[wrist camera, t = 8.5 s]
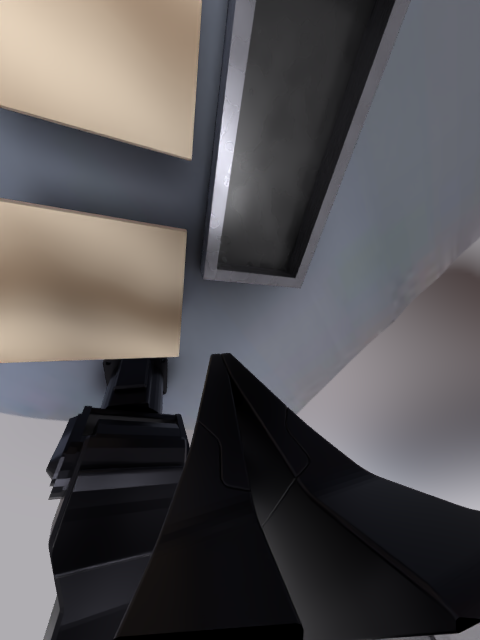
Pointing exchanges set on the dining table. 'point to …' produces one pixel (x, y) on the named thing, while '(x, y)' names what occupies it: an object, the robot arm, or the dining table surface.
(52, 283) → the tunnel
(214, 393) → the robot arm
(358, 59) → the dark grey rectangular tray
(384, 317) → the dining table surface
